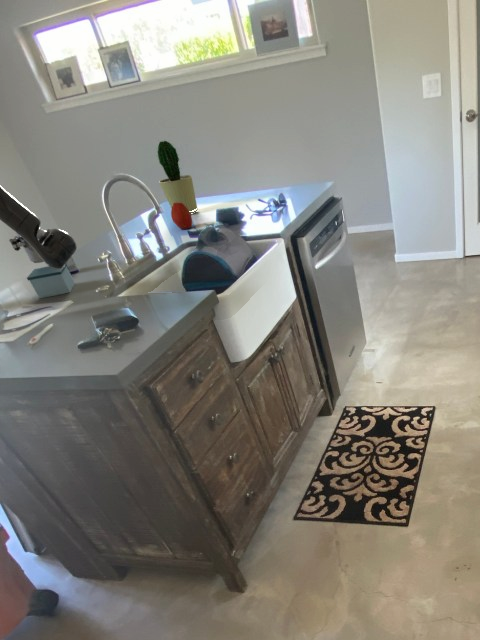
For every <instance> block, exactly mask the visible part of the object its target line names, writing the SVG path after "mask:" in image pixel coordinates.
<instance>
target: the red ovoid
mask: <svg viewBox="0 0 480 640" xmlns="http://www.w3.org/2000/svg"><path fill="white" fill-rule="evenodd" d="M176 202H177V201H176ZM170 217H171V220H172V222H173V223H174V224H175V225H176V226H177V227H178V228H179V229H181V230H187V229H191V228H192V226H193V219H192V215H191V214H190V212H189V211H188V209H187V208H186V206H185V205H184V204H182V203H180V202H179V203H174V204H173V205H172V209H170Z"/></svg>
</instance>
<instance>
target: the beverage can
mask: <svg viewBox="0 0 480 640" xmlns="http://www.w3.org/2000/svg"><path fill="white" fill-rule="evenodd" d="M15 234H16V236H17V237H19V236H20V235H19V234H18V233H16V232H15ZM22 247H23V246H22ZM23 249H24V251H25V253H26V255H27V257H28V259H29V261H30V262H32V263H33V264H39V263H41V264H42V263H45V262H44V261H43V260H42V259H41V257H40V256H39V255H38V254H36V253H34V252H32V251H31V250H30V249H29V248H24V247H23Z"/></svg>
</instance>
